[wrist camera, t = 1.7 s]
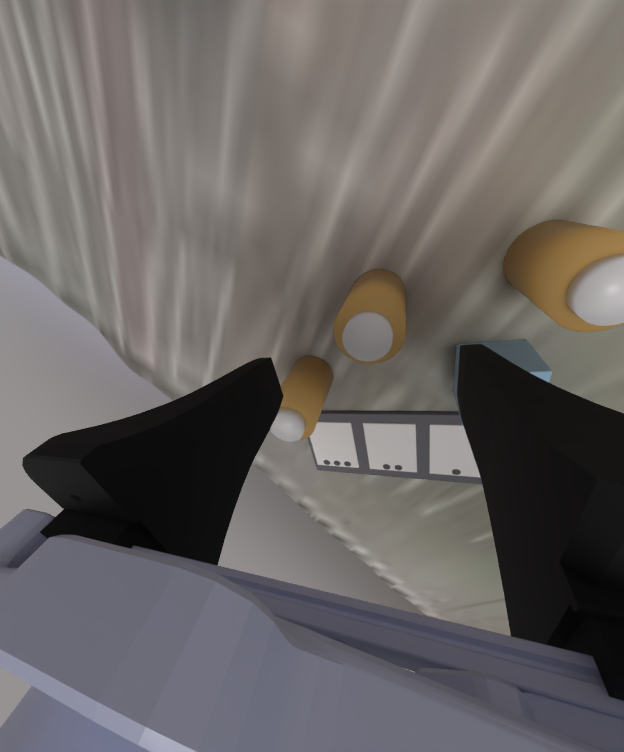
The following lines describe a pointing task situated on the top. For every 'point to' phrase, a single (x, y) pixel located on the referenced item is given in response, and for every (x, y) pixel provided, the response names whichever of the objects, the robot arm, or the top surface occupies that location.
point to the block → (511, 359)
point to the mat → (394, 445)
